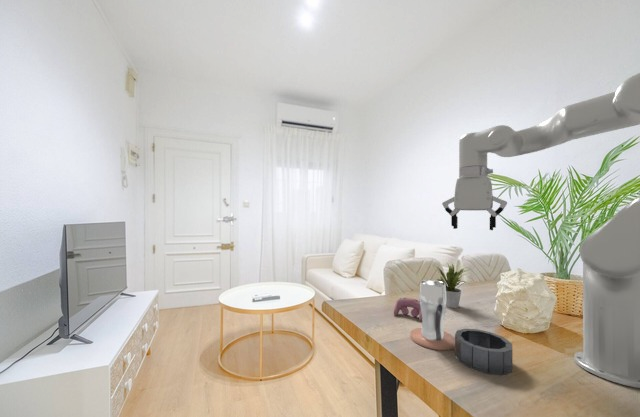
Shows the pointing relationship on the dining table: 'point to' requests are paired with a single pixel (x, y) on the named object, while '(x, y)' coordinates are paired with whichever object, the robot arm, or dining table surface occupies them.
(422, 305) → the beer glass
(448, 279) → the house plant
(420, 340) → the coaster
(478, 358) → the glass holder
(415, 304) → the video game controller
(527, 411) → the dining table surface
